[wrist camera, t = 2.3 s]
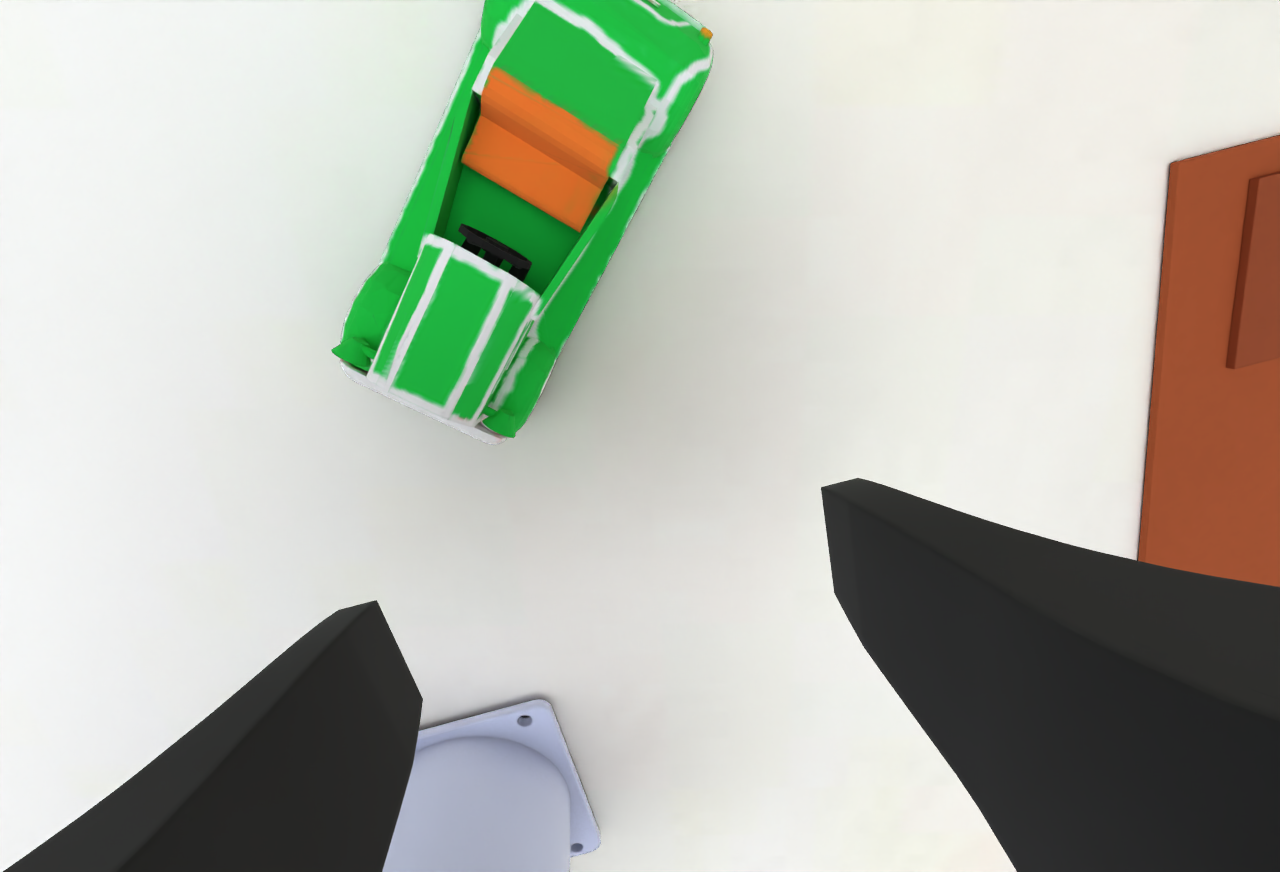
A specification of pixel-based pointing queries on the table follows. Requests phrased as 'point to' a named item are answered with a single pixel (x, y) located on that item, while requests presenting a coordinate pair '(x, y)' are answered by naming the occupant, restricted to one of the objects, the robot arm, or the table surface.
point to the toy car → (522, 204)
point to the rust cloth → (1218, 371)
